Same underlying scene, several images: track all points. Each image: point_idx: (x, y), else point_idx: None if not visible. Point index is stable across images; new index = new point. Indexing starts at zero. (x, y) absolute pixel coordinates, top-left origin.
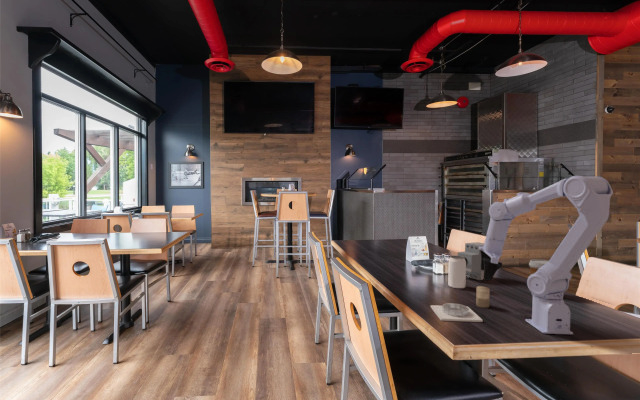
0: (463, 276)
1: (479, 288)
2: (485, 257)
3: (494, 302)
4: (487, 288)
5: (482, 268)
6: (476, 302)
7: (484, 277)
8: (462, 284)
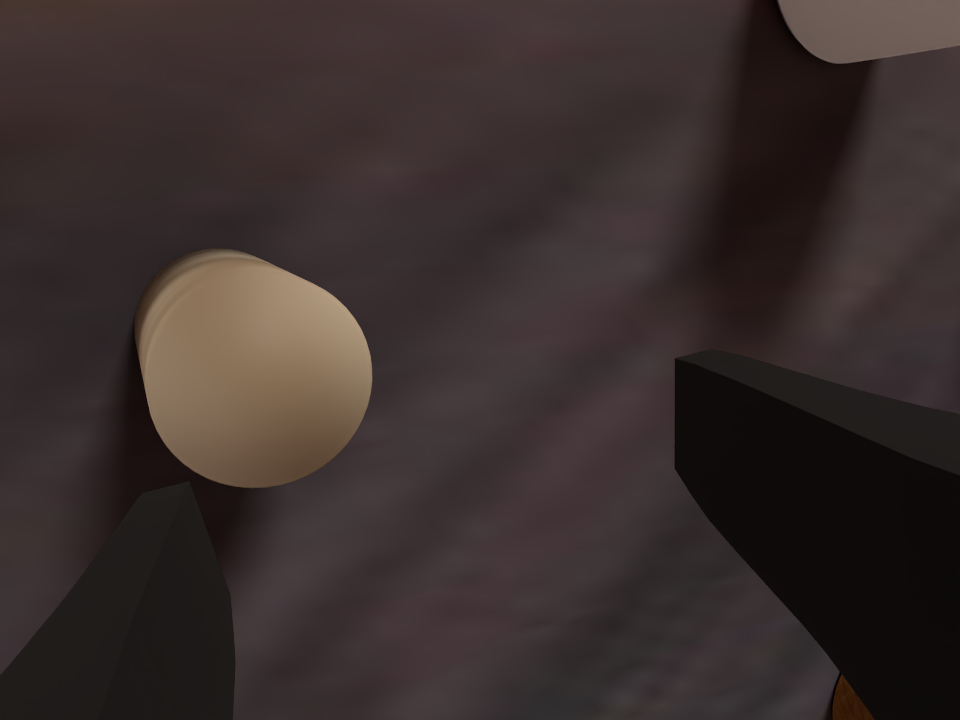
0: (926, 14)
1: (193, 333)
2: (938, 582)
3: (440, 424)
4: (283, 450)
5: (694, 391)
6: (186, 259)
7: (123, 524)
8: (823, 24)
